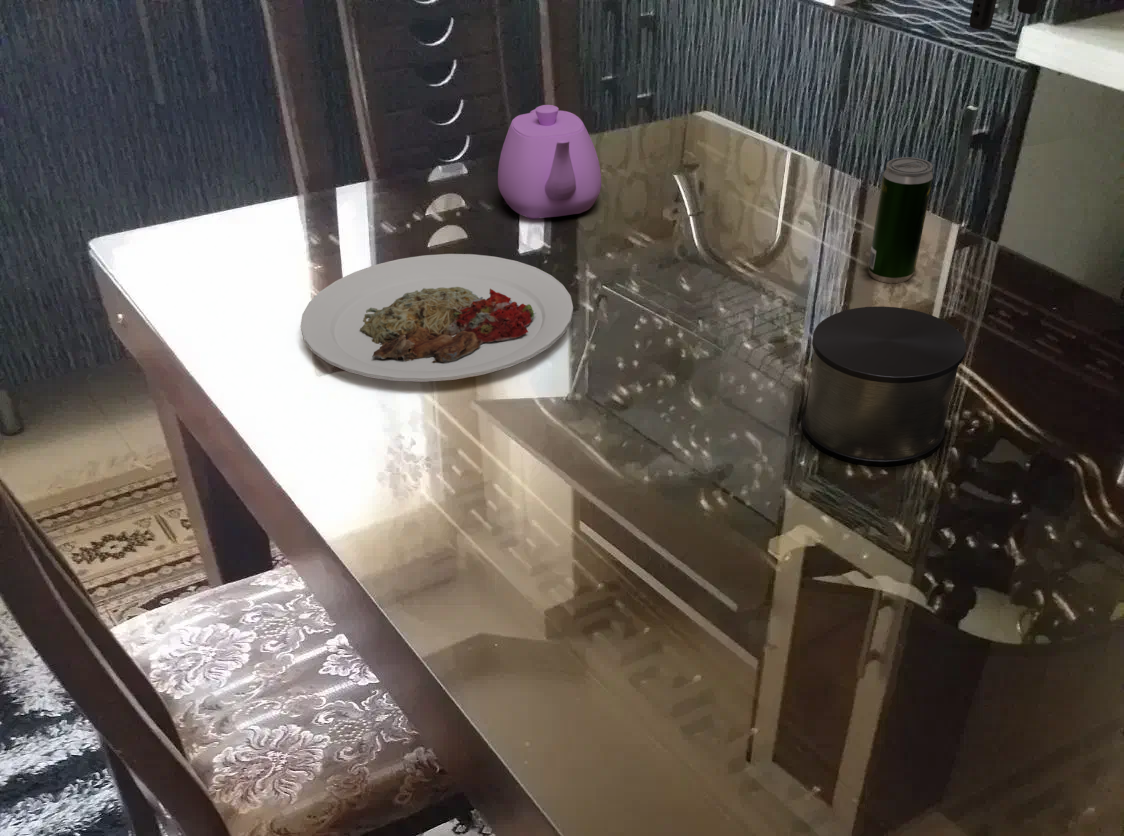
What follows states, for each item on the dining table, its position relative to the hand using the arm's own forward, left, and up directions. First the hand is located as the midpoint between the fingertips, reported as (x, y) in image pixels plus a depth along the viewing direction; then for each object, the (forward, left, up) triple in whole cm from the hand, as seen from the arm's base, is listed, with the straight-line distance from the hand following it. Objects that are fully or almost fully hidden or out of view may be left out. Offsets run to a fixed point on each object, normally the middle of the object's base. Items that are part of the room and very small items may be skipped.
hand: (1003, 20), depth 122 cm
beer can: (+9, +8, -24) cm, 27 cm away
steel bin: (+17, +42, -24) cm, 51 cm away
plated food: (+61, +19, -24) cm, 68 cm away
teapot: (+49, -14, -24) cm, 57 cm away
